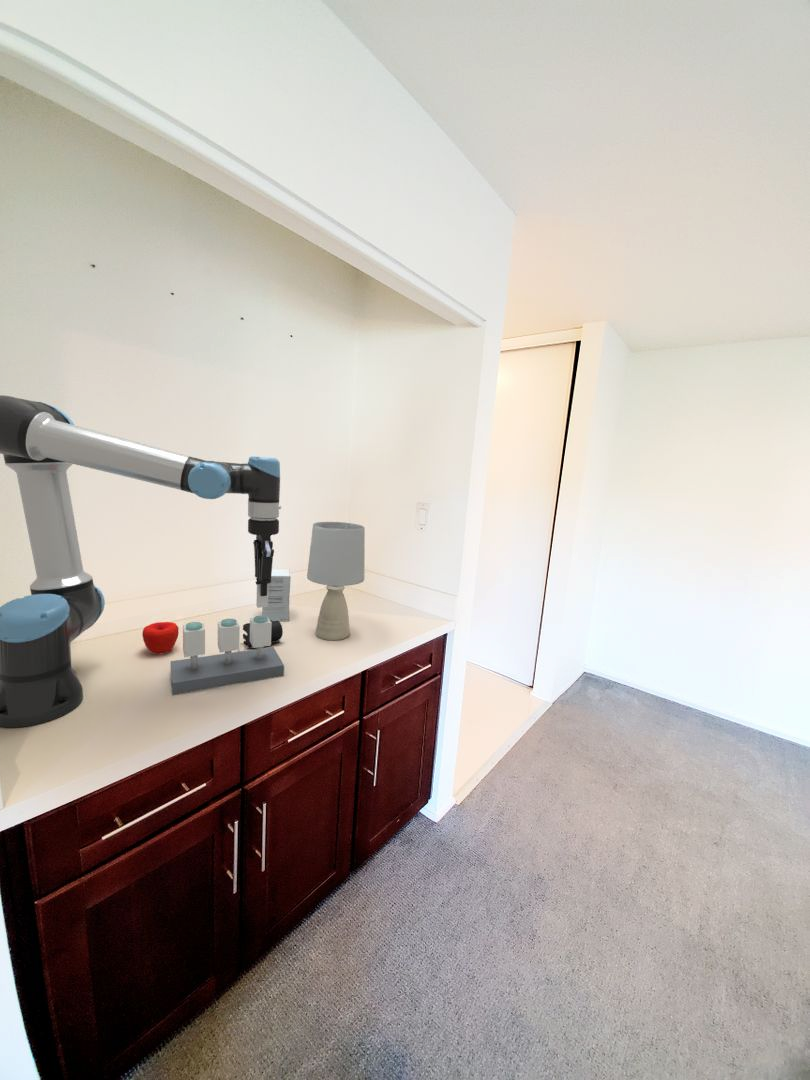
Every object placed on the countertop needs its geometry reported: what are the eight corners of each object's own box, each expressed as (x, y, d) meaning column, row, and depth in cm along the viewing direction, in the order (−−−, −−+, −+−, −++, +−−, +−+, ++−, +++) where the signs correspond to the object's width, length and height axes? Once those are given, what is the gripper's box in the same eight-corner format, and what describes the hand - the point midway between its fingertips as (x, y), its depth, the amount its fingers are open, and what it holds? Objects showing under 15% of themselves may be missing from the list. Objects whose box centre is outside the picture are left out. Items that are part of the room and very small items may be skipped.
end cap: (251, 652, 125) (252, 630, 124) (241, 643, 130) (241, 622, 129) (282, 643, 132) (283, 623, 131) (271, 636, 137) (272, 616, 136)
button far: (252, 647, 111) (253, 621, 110) (249, 640, 115) (250, 615, 114) (270, 645, 113) (271, 619, 112) (267, 638, 117) (267, 613, 116)
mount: (172, 695, 100) (171, 663, 98) (170, 671, 110) (170, 642, 108) (283, 675, 113) (284, 647, 111) (273, 656, 123) (273, 630, 122)
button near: (184, 657, 103) (184, 629, 102) (183, 649, 107) (182, 622, 105) (205, 654, 105) (205, 626, 104) (203, 646, 109) (203, 620, 108)
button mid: (219, 652, 107) (220, 625, 106) (217, 645, 111) (217, 618, 110) (239, 649, 109) (239, 623, 108) (236, 642, 113) (236, 617, 112)
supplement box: (262, 612, 156) (263, 568, 153) (288, 612, 159) (289, 568, 156) (261, 622, 147) (262, 575, 144) (289, 621, 150) (290, 575, 147)
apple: (167, 641, 127) (167, 616, 125) (185, 650, 122) (185, 624, 121) (136, 651, 119) (135, 625, 118) (153, 661, 115) (153, 633, 113)
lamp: (294, 639, 136) (298, 525, 129) (319, 620, 153) (324, 519, 147) (348, 649, 131) (356, 532, 125) (367, 629, 149) (375, 525, 143)
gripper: (285, 522, 105) (282, 612, 109) (272, 514, 116) (271, 597, 120) (253, 522, 101) (252, 616, 105) (243, 514, 112) (243, 600, 116)
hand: (262, 606), depth 112 cm, fingers closed
